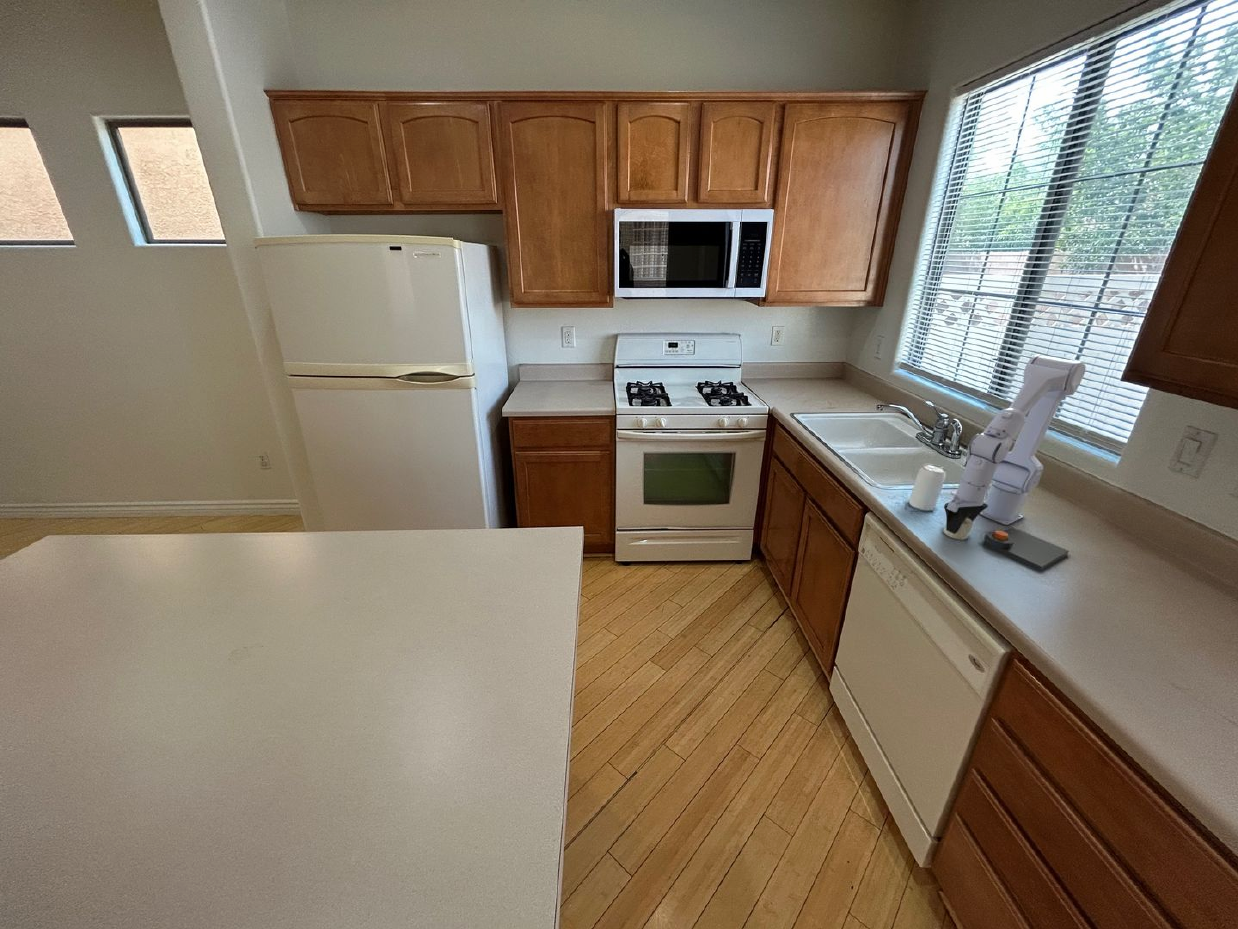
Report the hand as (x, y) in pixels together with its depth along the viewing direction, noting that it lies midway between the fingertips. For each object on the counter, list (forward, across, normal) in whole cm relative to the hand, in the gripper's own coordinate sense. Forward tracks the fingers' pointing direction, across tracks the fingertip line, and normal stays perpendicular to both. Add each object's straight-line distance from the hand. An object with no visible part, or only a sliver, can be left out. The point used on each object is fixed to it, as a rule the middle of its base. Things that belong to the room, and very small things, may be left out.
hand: (957, 528), depth 122 cm
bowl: (+2, 0, 0) cm, 2 cm away
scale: (+2, -8, +12) cm, 15 cm away
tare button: (-1, -3, +8) cm, 9 cm away
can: (+2, -7, -13) cm, 15 cm away
